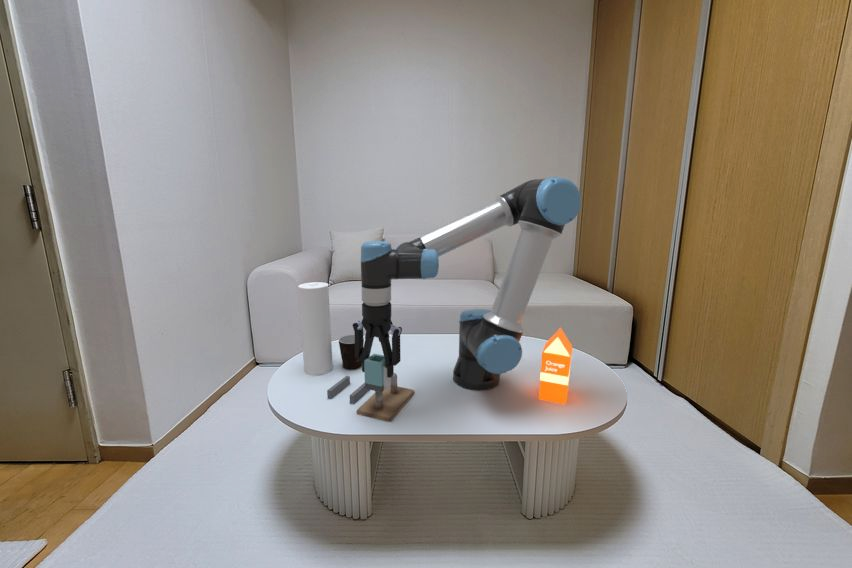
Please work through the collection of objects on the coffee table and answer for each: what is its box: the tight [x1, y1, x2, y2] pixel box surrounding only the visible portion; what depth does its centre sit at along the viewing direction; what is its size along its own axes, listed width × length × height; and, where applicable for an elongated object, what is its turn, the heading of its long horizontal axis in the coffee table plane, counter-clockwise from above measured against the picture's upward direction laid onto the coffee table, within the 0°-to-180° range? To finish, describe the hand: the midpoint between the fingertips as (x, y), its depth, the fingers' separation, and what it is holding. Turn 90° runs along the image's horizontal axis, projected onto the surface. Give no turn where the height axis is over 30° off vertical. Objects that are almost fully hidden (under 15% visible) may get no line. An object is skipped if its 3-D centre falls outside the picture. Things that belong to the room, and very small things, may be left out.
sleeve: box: [364, 353, 386, 392], centre depth 100 cm, size 5×5×8 cm
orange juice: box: [538, 327, 573, 405], centre depth 109 cm, size 8×9×20 cm
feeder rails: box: [326, 375, 370, 405], centre depth 112 cm, size 9×10×2 cm
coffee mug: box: [338, 334, 365, 371], centre depth 128 cm, size 12×9×10 cm
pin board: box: [356, 372, 415, 423], centre depth 106 cm, size 10×16×7 cm, turn 158°
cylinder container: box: [297, 281, 334, 376], centre depth 125 cm, size 9×9×30 cm
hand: (377, 385), depth 101 cm, fingers closed on sleeve, 5 cm apart
